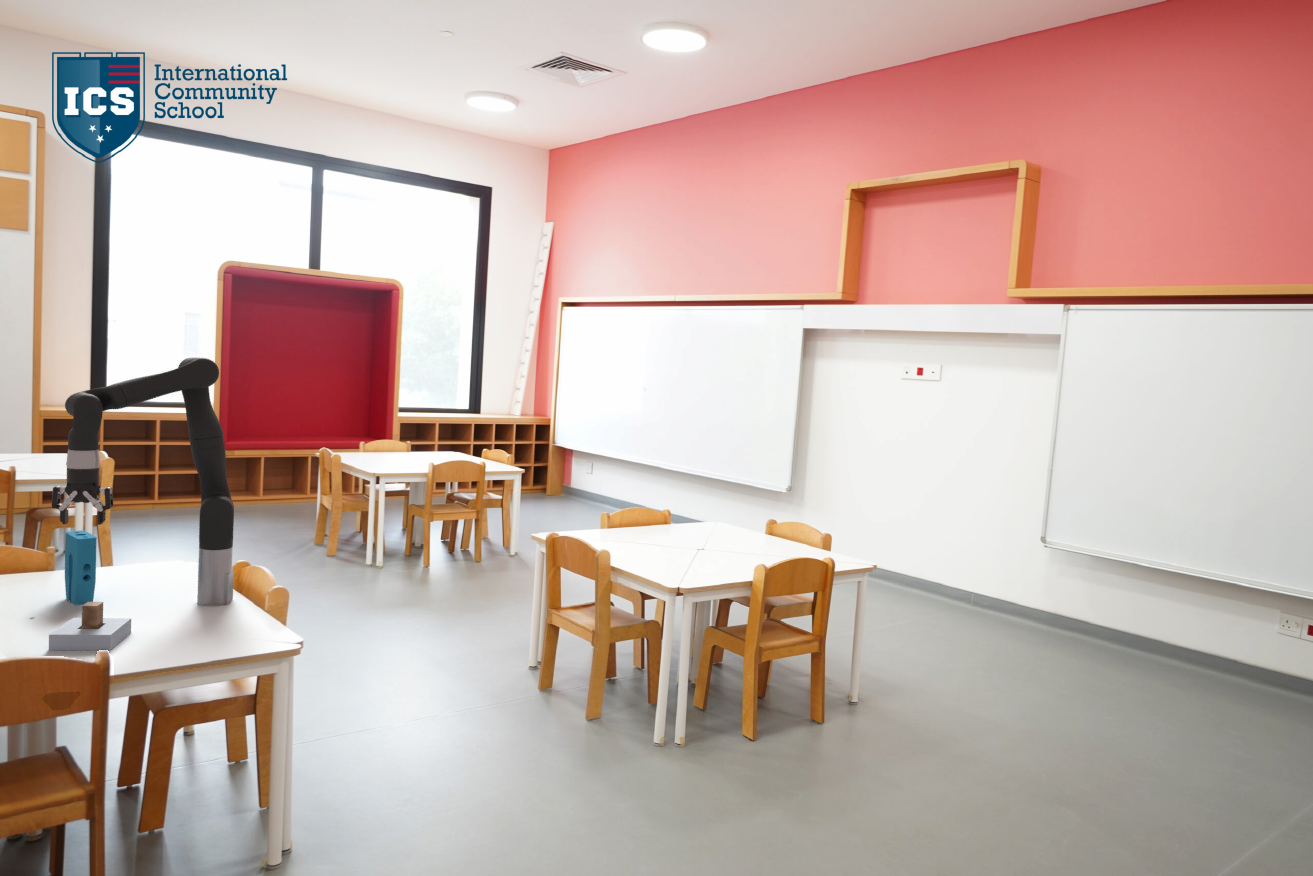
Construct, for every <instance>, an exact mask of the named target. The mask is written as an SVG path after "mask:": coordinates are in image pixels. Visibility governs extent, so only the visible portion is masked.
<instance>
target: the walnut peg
mask: <svg viewBox="0 0 1313 876" xmlns="http://www.w3.org/2000/svg"><path fill="white" fill-rule="evenodd" d="M81 605H82V606H81V618H82V629H99V628H101V627H102V626H103V618H104V601H93V602H87V603H85V604H81Z"/></svg>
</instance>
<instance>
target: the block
mask: <svg viewBox="0 0 1313 876" xmlns="http://www.w3.org/2000/svg"><path fill="white" fill-rule="evenodd" d="M64 535H65V536H64V537H65V540H64V542H65V543H64V544H65V545H64V582H65V583H64V584H65V585H64V587H65V599H66V600H67V601H68V602H70V603H71V604H72V605H74V606H80V605H84V604H85V603H87V602H94V598H95V589H96V583H97V582H96V581H97V579H96V577H97V576H96V575H97V573H96V572H97V536H96V535H93V534H92V533H90V532H88V531H86V530H71V531H69V530H68V531H65V534H64Z"/></svg>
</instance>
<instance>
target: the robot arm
mask: <svg viewBox="0 0 1313 876" xmlns="http://www.w3.org/2000/svg"><path fill="white" fill-rule="evenodd" d="M219 376H220V369H219V366H218V365H217V363H216V362H215V361H214V360H212V359H210V358H207V357H203V356H202V357H200V356H195V357H194V356H193V357H187V358H185V359H183V360H181V362H180V363H179V365H178V367H177V368H174V369H172V370H171V369H170V370H168V371H163V372H161V373H157V374H156V373H155V374H152V375H151V374H150V375H145V376H141V377H136V378H130V379H127V380H124V381H120V382H116V383H113V384H110V385H107V386H104V387H97V388H91V389H86V390H82V391H78V392H75V393H73V394H71V395H69V396H68V397H67V399H66V400H65V402H64V408H65V411H66V412H67V414H69V415H70V416H72V417H73V418H72V419H73V420H72V428H71V429H69V431H68V435H67V455H66V462H65V463H66V464H65V465H66V486H62V485H55V486H54V487H52V494H51V495H52V498H51V508H52V509H57V510H59V521H60V523H61V525H67V524H69V509H68V508H69V507H70V506H71V505H72V504H73V503H77V504H78V503H84V504H89V503H90V504H91V505H92V506H94V507H95V508H96V510H97V511H96V513H97V516H96V518H97V520H96V521H97V522H96V525H99V526H101V525H103V524H104V523H105V522H106V515H107V514H106V511H107V510H110V509H112V508H114V494H113V493H114V491H113V487H112V486H108V487H101V485H100V459H101V458H100V451H99V450H100V449H99V447H100V446H99V443H100V442H99V441H100V437H99V433H100V429H101V424H102V421H103V420H102V419H103V412H105V411H110V410H120V409H124V408H128V407H131V406H134V405H137V404H140V403H143V402H147V401H150V400H153V399H156V398H159V397H161V396H165V395H169V394H172V393H177V392H181V394H182V398H183V401H184V408H185V414H186V424H187V429H188V438H189V445H190V451H191V456H192V461H193V463H194V467H195V470H196V472H197V474H198V478H199V483H200V508H199V509H200V510H199V525H198V527H199V528H198V529H199V530H198V533H199V535H198V543H199V544H198V546H199V547H198V565H197V566H198V567H197V569H198V570H197V571H198V572H197V604H198V605H200V606H208V607H209V606H211V607H212V606H213V607H214V606H223V605H229V604H230V603H231V601H233V599H234V580H235V579H234V574H235V573H234V572H235V570H234V569H233V551H234V550H233V547H234V523H235V522H234V521H235V520H234V519H235V504H234V502H233V499H232V495H231V493H230V489H229V485H228V481H227V457H226V456H227V455H226V444H225V437H224V432H223V428H222V426H221V423H220V421H219V418H218V416H217V414H216V412H215V410H214V408H213V406H212V402H211V396H210V388H209V387H211V386H212V385H214V384H215V383H216V382H217V381H218V379H219ZM64 492H65V494H66V495H67V497H66V499H65V500H64V501H63V503H61V500H62V499H61V498H62V494H64ZM100 493H102V495H103V496H104V502H102V499H101V497H99V494H100Z"/></svg>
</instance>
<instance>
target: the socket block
mask: <svg viewBox="0 0 1313 876" xmlns="http://www.w3.org/2000/svg"><path fill="white" fill-rule="evenodd" d="M131 633H132V617H130V618H129V617H127V618H126V617H122V618H121V617H103V626H102V627H101V628H99V629H82V617H72V618H71V619H70V620H68V621H66V622H65V623H64V624H62V625H61V626H60V627H58V628H56V629H55V630H54V631H52V632H50V633H49V634H48V651H102V650H101V649H106V650H105V651H112V649H114V648H115V647H116V646H117V645H119V644H120V643H121V642H122V641H123V640H124V639H126V638H127V637H128V636H129V635H130V634H131Z"/></svg>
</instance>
